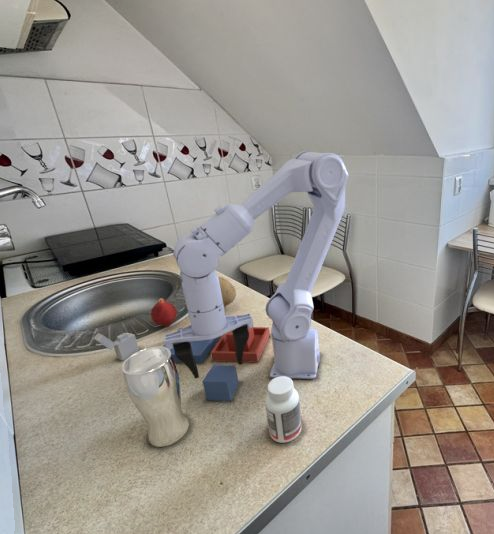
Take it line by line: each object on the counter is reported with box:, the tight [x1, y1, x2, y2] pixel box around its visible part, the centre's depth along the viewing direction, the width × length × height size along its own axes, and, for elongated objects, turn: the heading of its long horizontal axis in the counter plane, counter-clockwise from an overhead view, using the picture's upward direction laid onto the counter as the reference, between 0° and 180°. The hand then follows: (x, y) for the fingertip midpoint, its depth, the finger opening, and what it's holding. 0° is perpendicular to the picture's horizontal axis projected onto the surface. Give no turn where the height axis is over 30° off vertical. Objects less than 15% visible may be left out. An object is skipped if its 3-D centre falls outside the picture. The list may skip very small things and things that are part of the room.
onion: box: [150, 298, 178, 327], centre depth 83 cm, size 6×6×8 cm
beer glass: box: [121, 345, 190, 448], centre depth 51 cm, size 7×7×15 cm
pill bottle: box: [264, 376, 302, 444], centre depth 52 cm, size 5×5×10 cm
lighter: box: [92, 332, 140, 361], centre depth 71 cm, size 7×2×8 cm, turn 154°
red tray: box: [210, 326, 271, 363], centre depth 75 cm, size 10×10×2 cm
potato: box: [218, 276, 237, 309], centre depth 90 cm, size 9×9×10 cm
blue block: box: [202, 364, 240, 402], centre depth 61 cm, size 5×5×5 cm
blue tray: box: [162, 327, 222, 365], centre depth 75 cm, size 10×10×2 cm
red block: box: [226, 327, 255, 352], centre depth 74 cm, size 5×5×5 cm
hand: (218, 367), depth 60 cm, fingers open, 7 cm apart
